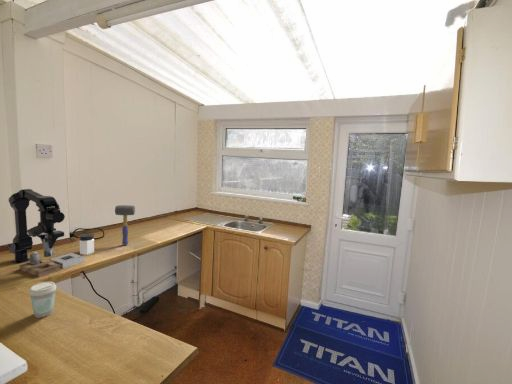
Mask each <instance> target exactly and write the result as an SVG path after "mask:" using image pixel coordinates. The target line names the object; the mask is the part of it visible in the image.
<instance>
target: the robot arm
mask: <svg viewBox="0 0 512 384" xmlns="http://www.w3.org/2000/svg"><path fill="white" fill-rule="evenodd" d="M30 201H31V202H33V203H35V206H36V207H37V208H38V209H37V212H39V220H40V221H38V222H37V225H36V226H33V227H31V228H29V229H28V223H27V222H28V221H27V209H28V208H29V205H30ZM8 202H9V206H10V207H11V208H12V210H14V220H15V222H14V223H15V236H14V237H13V239H12V244H11V245H10V247H9V248H8V249H9V250H8V251H9V253H12V254H14V259H12V260H11V262H13V263H16V264H22V263H26V262H29V261H30V257H29V256H28V253H29V252H28V251H29V250H33V244H34V242H33V238H35V237H38V238H39V239H40V240H41V243H42V244H43V238H46V239H47V240H48V244H49V248H50V249H51V248H52V247H53V248H54V245H55V243H56V241H57V240H58V238H63V237H65V232H64V231H63V230H57V228H55V224H56V223H57V224H59V223H62V222H64V220H65V218H66V217H65V214H64V212H63V211H61V208H60V204H58V202H57V200H56V198H55V197H53V196H50V195H42V194H41V193H38V192H37V191H34V190H33V189H31V188H25V189H20V190H18V191H17V192H14V193H13V194H11V195H10V196H9V198H8ZM45 235H48V237H45Z"/></svg>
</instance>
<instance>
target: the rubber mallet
mask: <svg viewBox="0 0 512 384" xmlns="http://www.w3.org/2000/svg"><path fill="white" fill-rule="evenodd" d="M114 213H115V215H116V216H123V217H122V219H123V221H122V225H123V226H122V232H121V233H122V234H121V235H122V246H127V245H128V244H129V238H128V237H129V236H128V235H129V227H128V216H134V215H135V213H136V207H135V205H130V204H129V205H128V204H126V205H125V204H124V205H121V204H120V205H119V204H118V205H116V206H115V208H114Z"/></svg>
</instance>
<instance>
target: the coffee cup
mask: <svg viewBox="0 0 512 384" xmlns="http://www.w3.org/2000/svg"><path fill="white" fill-rule="evenodd" d="M56 290H57V285H56V283H55V282H54V281H42V282H39V283H36V284H34V285H32V286H31V287H30V289H29V292H28V295H29V296H30V300H31V304H32V305H31V306H32V310H33V315H34V318H36V319H40V318H41V317H42V318H45V316H46V317H49V316H51V314H53V312H54V307H55V306H54V305H55V299H56V298H55V297H56Z"/></svg>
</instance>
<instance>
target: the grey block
mask: <svg viewBox="0 0 512 384" xmlns="http://www.w3.org/2000/svg"><path fill="white" fill-rule="evenodd" d="M45 237H48V235H45ZM42 246H43V247H42V248H43V257H45V258H47V257H52V256H54V246H53V247H52V248H51V249H50V248H49V244H48V240H47V239H46V238H43V243H42Z"/></svg>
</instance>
